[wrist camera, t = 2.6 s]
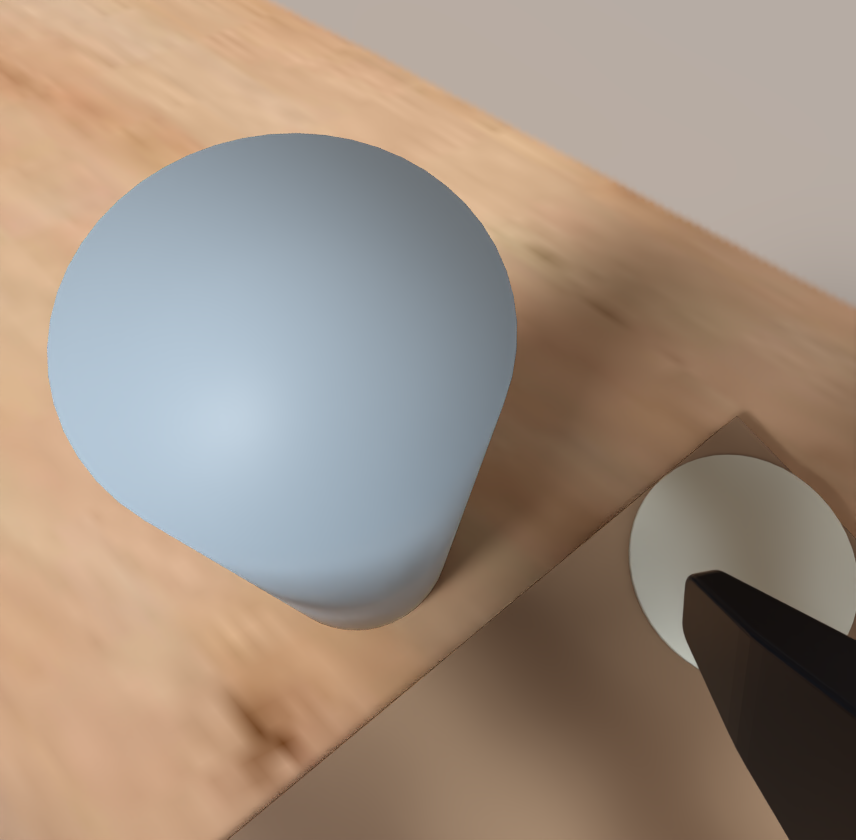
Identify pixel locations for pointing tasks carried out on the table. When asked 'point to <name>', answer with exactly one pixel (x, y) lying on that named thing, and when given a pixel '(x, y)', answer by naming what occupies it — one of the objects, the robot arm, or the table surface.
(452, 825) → the board
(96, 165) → the table surface
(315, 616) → the tall pin
